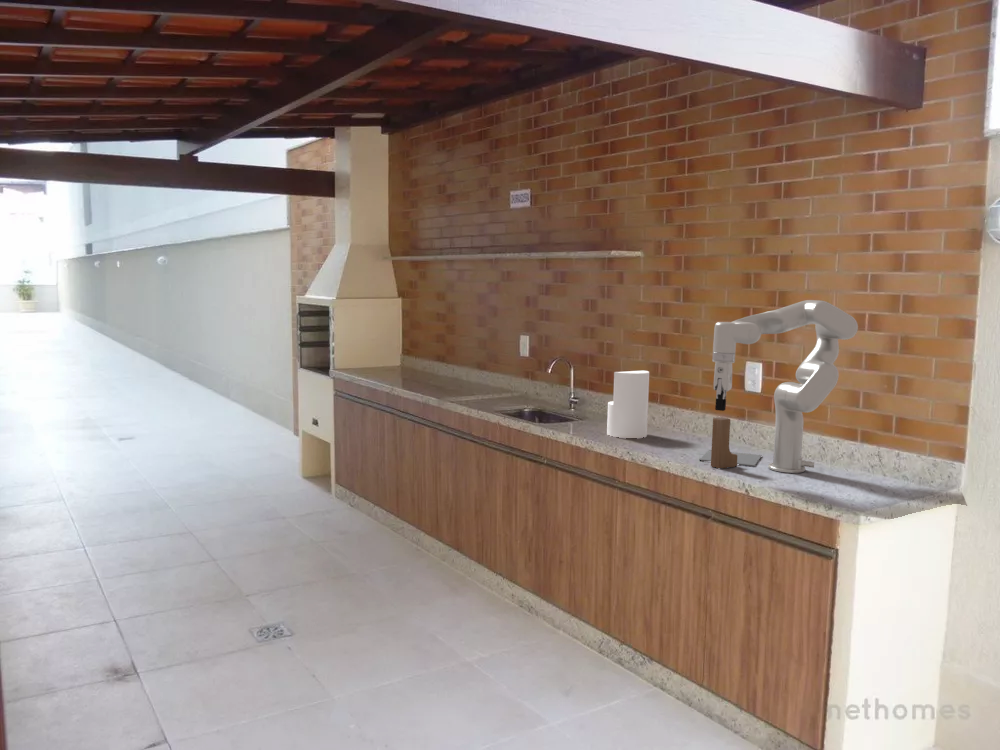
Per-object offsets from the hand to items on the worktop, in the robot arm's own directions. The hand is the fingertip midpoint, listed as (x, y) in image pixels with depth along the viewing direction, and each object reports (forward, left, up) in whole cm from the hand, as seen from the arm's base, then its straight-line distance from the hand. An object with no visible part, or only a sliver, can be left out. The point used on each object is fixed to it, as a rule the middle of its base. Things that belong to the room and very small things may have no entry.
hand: (720, 410), depth 285 cm
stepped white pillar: (+49, -55, -23) cm, 77 cm away
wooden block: (0, -11, -23) cm, 25 cm away
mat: (0, -27, -22) cm, 35 cm away
